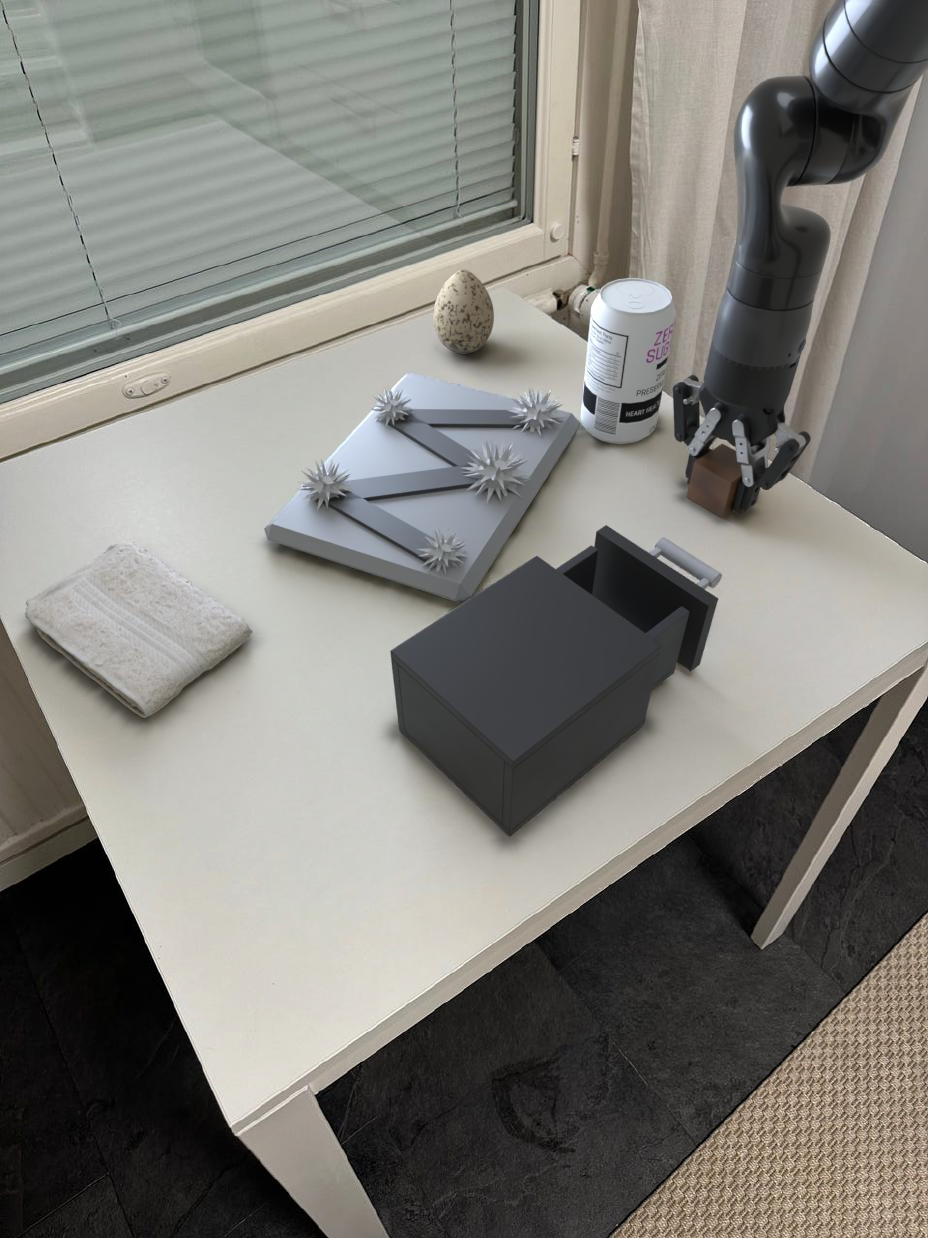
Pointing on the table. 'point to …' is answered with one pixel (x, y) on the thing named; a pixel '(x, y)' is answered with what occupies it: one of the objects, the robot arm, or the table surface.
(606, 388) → the supplement can
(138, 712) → the washcloth
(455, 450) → the grey zigzag star board
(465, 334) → the decorative egg
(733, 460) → the block
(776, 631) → the table surface
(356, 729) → the table surface
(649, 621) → the drawer
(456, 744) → the cabinet
